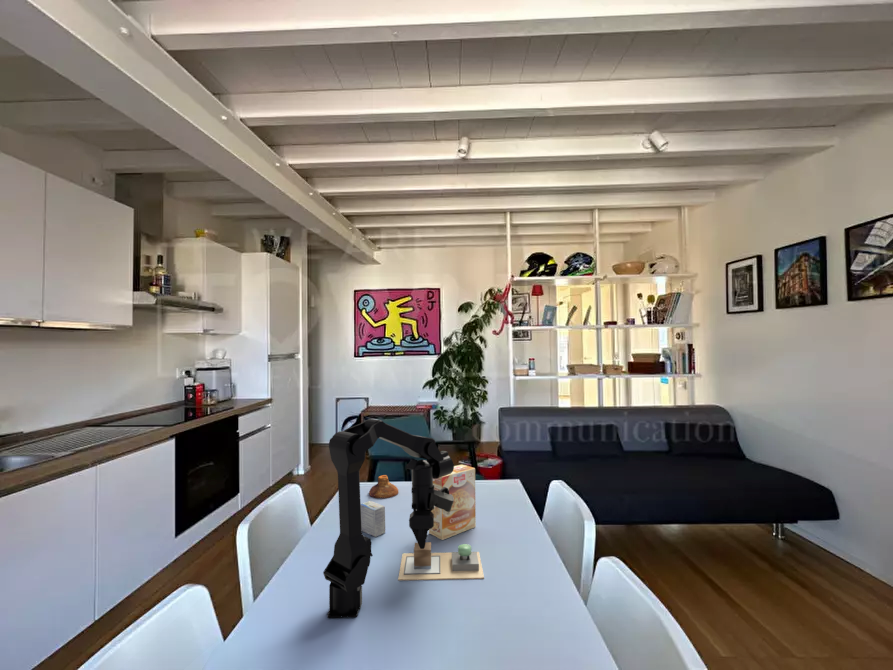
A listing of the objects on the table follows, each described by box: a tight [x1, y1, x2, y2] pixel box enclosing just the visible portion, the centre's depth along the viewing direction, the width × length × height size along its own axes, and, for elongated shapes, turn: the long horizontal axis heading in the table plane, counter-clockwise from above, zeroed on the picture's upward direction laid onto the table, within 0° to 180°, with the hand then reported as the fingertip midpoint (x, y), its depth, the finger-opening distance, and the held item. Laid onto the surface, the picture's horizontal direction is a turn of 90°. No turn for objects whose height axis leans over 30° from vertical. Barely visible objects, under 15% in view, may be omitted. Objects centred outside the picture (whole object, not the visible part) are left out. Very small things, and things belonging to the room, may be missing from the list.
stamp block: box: [413, 541, 432, 569], centre depth 118 cm, size 4×4×5 cm
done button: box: [457, 543, 472, 560], centre depth 118 cm, size 4×4×4 cm
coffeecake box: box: [428, 464, 477, 541], centre depth 141 cm, size 15×7×20 cm, turn 131°
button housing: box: [451, 551, 479, 571], centre depth 118 cm, size 7×7×2 cm
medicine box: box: [361, 500, 386, 538], centre depth 140 cm, size 8×4×9 cm, turn 47°
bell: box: [368, 474, 399, 499], centre depth 178 cm, size 12×12×7 cm
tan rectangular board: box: [397, 551, 485, 581], centre depth 118 cm, size 22×14×1 cm, turn 91°
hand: (422, 540), depth 118 cm, fingers open, 9 cm apart
